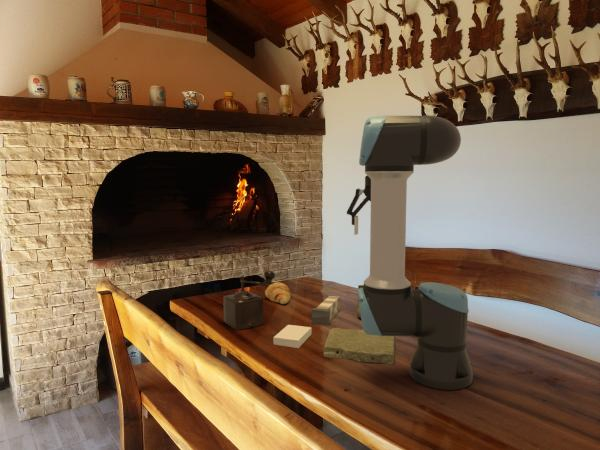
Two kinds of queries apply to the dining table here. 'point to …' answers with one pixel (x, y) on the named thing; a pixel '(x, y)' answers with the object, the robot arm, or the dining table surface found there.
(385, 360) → the decorative tile
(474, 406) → the dining table surface
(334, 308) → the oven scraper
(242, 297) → the dark brown crank device
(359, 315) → the fennel bulb
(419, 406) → the dining table surface
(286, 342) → the cream flat block
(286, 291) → the croissant
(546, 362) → the dining table surface
